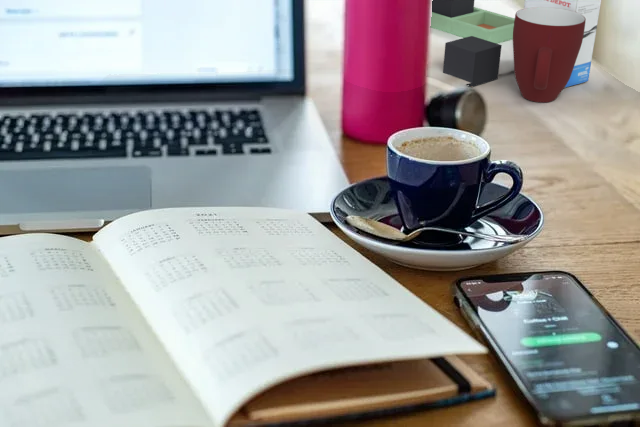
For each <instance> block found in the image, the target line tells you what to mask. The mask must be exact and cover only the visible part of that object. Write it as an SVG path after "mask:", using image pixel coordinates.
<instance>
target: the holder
mask: <svg viewBox="0 0 640 427" xmlns="http://www.w3.org/2000/svg"><path fill="white" fill-rule="evenodd" d="M514 20H515V17H511V16H509V15H504V14H500V13H498V12H493V11H490V10H488V9H482V8H479V7H476V6H474V10H473V13H469V14H465V15H461V16H457V17H453V18H450V17H447V16H443V15H440V14H437V13H434V12H432V17H431V27H430V28H431V29H434V30H438V31H440V32H444V33H447V34H450V35H453V36H457V37H460V38H461V39H462V38H465V37H469V36H474V37H477V38H480V39H484V40H487V41H490V42H493V43H496V44H501V43H504V42H508V41H511V40H512V41H513V28H514Z"/></svg>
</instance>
